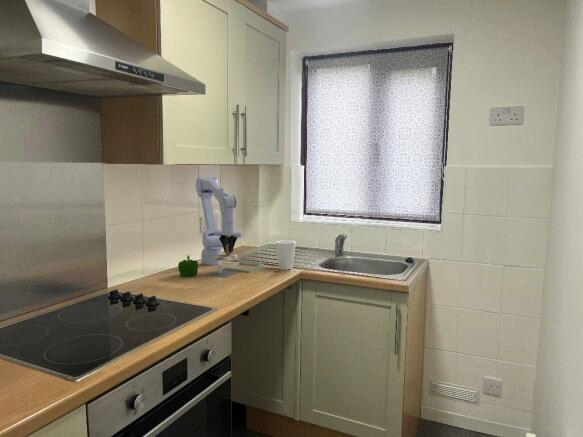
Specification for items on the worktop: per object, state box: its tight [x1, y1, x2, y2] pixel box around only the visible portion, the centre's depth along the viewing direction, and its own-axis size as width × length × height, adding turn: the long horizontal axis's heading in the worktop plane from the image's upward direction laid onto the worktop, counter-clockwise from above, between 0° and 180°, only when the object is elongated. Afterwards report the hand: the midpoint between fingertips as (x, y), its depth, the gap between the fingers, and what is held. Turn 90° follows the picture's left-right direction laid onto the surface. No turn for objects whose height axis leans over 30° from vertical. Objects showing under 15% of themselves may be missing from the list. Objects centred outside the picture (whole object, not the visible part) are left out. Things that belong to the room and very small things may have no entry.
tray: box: [223, 261, 265, 273], centre depth 210 cm, size 14×14×2 cm
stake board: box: [204, 266, 240, 279], centre depth 198 cm, size 11×11×4 cm
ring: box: [213, 244, 239, 262], centre depth 201 cm, size 8×8×5 cm
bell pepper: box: [178, 255, 199, 278], centre depth 195 cm, size 8×8×10 cm
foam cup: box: [275, 239, 297, 271], centre depth 213 cm, size 10×9×13 cm
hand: (228, 252), depth 203 cm, fingers closed on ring
